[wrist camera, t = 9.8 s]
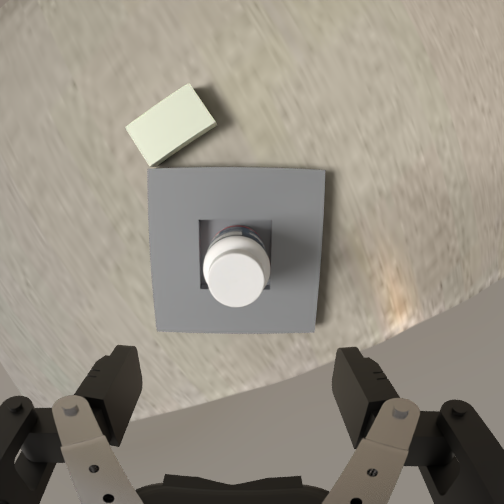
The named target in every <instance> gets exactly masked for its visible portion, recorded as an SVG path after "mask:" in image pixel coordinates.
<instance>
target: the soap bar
mask: <svg viewBox="0 0 504 504" xmlns="http://www.w3.org/2000/svg"><path fill="white" fill-rule="evenodd" d="M215 126H217V124H216V122H215V120H214V119H213V117H212V116H211V114H210V113H209V111H208V110H207V108H206V107H205V106H204V104H203V103H202V101H201V100H200V98H199V97H198V95H197V94H196V92H195V91H194V89H193V88H192V87H191V85H190V84H189V83H188V84H186V85H185V86H183V87H182V88H180V89H179V90H177V91H176V92H174V93H173V94H171V95H170V96H168V97H167V98H165V99H164V100H162V101H161V102H159V103H158V104H156V105H155V106H154V107H152V108H151V109H149V110H148V111H147V112H145V113H144V114H142V115H141V116H140V117H138V118H137V119H136V120H134V121H133V122H132V123H130V124H129V125H128V126H126V127H125V128H126V130H127V131H128V133H129V135H130V136H131V138H132V139H133V141H134V142H135V144H136V146H137V147H138V149H139V150H140V152H141V153H142V155H143V157H144V158H145V160H146V161H147V163H148V164H149V166H151V167H156V166H158V165H159V164H160V163H162V162H163V161H165V160H166V159H167V158H169V157H170V156H172V155H173V154H175V153H176V152H178V151H179V150H180V149H182V148H183V147H185V146H186V145H188V144H189V143H191V142H192V141H194V140H195V139H197V138H198V137H200V136H201V135H203V134H204V133H206V132H208V131H209V130H211V129H212V128H214V127H215Z"/></svg>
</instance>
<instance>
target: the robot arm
mask: <svg viewBox="0 0 504 504" xmlns="http://www.w3.org/2000/svg"><path fill="white" fill-rule="evenodd" d="M141 391H142V375H141V369H140V364H139V358H138V352H137V349H136V347H135V346H125V345H117V346H116V347H115V349H114V350H113V352H112V353H111V355H110V356H106V355H105V356H104V357H102V358H101V359H99V360H98V361H96V363H95V364H94V366H93V367H92V369H91V370H90V372H89V373H88V375H87V376H86V378H85V379H84V380H83V382H82V383H81V385H80V386H79V388H78V389H77V391H76V392H75V394H74V395H69V396H65V397H62V398H60V399H58V400H57V401H56V402H55V403H54V404H53V407H52V408H34V406H33V404H32V401H31V400H30V399H29V398H27V397H24V396H14V397H11V398H9V399H7V400H6V401H4V402H3V404H2V405H1V406H0V504H39V503H40V501H41V498H42V496H43V494H44V491H45V489H46V486H47V484H48V481H49V479H50V477H51V475H52V472H53V469H54V468H55V465H56V463H66V466H67V469H68V471H69V474H70V477H71V480H72V482H73V485H74V487H75V490H76V492H77V495H78V497H79V499H80V502H81V504H387V503H388V501H389V499H390V496H391V494H392V492H393V490H394V487H395V485H396V483H397V480H398V478H399V475H400V473H401V470H402V468H403V466H418V467H419V469H420V472H421V474H422V476H423V479H424V481H425V483H426V485H427V488H428V490H429V493H430V495H431V497H432V499H433V502H434V504H504V449H503V448H502V447H501V445H500V444H499V442H498V441H497V440H496V438H495V437H494V435H493V434H492V433H491V431H490V430H489V428H488V427H487V426H486V424H485V423H484V422H483V420H482V419H481V418H480V416H479V415H478V413H477V412H476V411H475V410H474V408H473V407H472V406H471V405H470V404H468V403H467V402H464V401H461V400H449V401H447V402H445V403H444V404H443V405H442V407H441V410H440V412H435V411H420V410H419V407H418V406H417V405H416V404H415V403H414V402H412V401H410V400H408V399H404V398H400V397H399V395H398V394H397V392H396V391H395V389H394V387H393V386H392V384H391V383H390V381H389V380H388V379H387V377H386V375H385V374H384V373H383V371H382V369H381V368H380V366H379V364H378V363H376V362H375V361H373V360H372V359H370V358H364V357H363V356H362V354H361V353H360V351H359V349H358V348H357V347H346V348H338V350H337V353H336V359H335V365H334V372H333V377H332V391H333V394H334V397H335V400H336V402H337V405H338V407H339V410H340V413H341V415H342V418H343V420H344V423H345V426H346V428H347V431H348V433H349V436H350V438H351V441H352V444H353V447H354V449H356V451H355V452H354V454H353V456H352V457H351V459H350V461H349V462H348V464H347V466H346V467H345V469H344V471H343V472H342V474H341V475H340V477H339V479H338V480H337V482H336V483H335V485H334V486H333V488H332V489H331V491H330V492H329V491H327V490H324V489H322V488H318V487H314V486H309V485H302V479H301V476H294V477H277V478H265V479H261V480H256V481H251V482H247V483H242V484H236V485H229V484H224V483H220V482H215V481H211V480H207V479H203V478H200V477H189V476H178V475H169V474H165V476H164V481H163V483H157V484H151V485H148V486H144V487H141V488H139V489H136V490H135V489H134V488H133V486H132V484H131V483H130V481H129V479H128V478H127V476H126V474H125V472H124V471H123V469H122V467H121V465H120V464H119V462H118V460H117V458H116V456H115V455H114V452H113V451H112V449H111V447H110V445H112V446H117V447H119V446H120V444H121V441H122V439H123V436H124V433H125V431H126V428H127V426H128V423H129V421H130V418H131V416H132V413H133V411H134V408H135V406H136V403H137V401H138V398H139V396H140V394H141ZM20 449H21V450H22V451H21V453H20V455H19V457H18V459H17V460H16V462H15V464H14V461H15V457H16V455H17V453H18V452H19V450H20ZM455 456H456V457H455ZM456 458H457V459H456Z"/></svg>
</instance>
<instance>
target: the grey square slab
mask: <svg viewBox="0 0 504 504" xmlns="http://www.w3.org/2000/svg"><path fill="white" fill-rule="evenodd" d="M324 193H325V170H315V169H293V168H261V167H187V168H155V169H148V220H149V243H150V260H151V274H152V287H153V298H154V309H155V318H156V327H157V331H162V332H186V333H231V334H264V333H309V332H314V331H315V321H316V311H317V300H318V289H319V277H320V264H321V250H322V234H323V215H324ZM232 225H242V226H246V227H249V228H251V229H253V230H254V231H255V232H256V233H257V234H258V235H259V236H260V237H261V239H262V241H263V243H264V246H265V249H266V252H267V255H268V258H269V261H270V277H269V280H268V282H267V284H266V286H265V288H264V289H263V291H262V293H261V294H260V296H259V297H258V298H257V299H256V300H255V301H254V302H252V303H251V304H249V305H246V306H243V307H229V306H226V305H224V304H222V303H220V302H219V301H217V300H216V299H215V298H214V297H213V295H212V294H211V292H210V290H209V287H208V284H207V282H206V280H205V277H204V273H203V264H204V258H205V255H206V253H207V250H208V248H209V246H210V244H211V242H212V240H213V238H214V237H215V235H216V234H217V233H218V232H219V231H221V230H222V229H224V228H226V227H228V226H232Z"/></svg>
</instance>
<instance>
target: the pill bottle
mask: <svg viewBox="0 0 504 504" xmlns="http://www.w3.org/2000/svg"><path fill="white" fill-rule="evenodd" d="M203 273H204V277H205V280H206V282H207V284H208V287H209V290H210V292H211V294H212V295H213V297H214V298H215V299H216V300H217V301H219V302H220V303H222V304H224V305H226V306H229V307H243V306H246V305H249V304H251V303H252V302H254V301H255V300H256V299H257V298H258V297H259V296H260V294H261V293H262V291H263V289H264V288H265V286H266V284H267V282H268V280H269V277H270V261H269V258H268V255H267V252H266V249H265V246H264V243H263V241H262V239H261V237H260V236H259V235H258V234H257V233H256V232H255V231H254V230H253V229H251V228H249V227H246V226H242V225H232V226H228V227H226V228H224V229H222V230H221V231H219V232H218V233H217V234H216V235H215V237H214V238H213V240H212V242H211V244H210V246H209V248H208V250H207V253H206V255H205V258H204V264H203Z"/></svg>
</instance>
